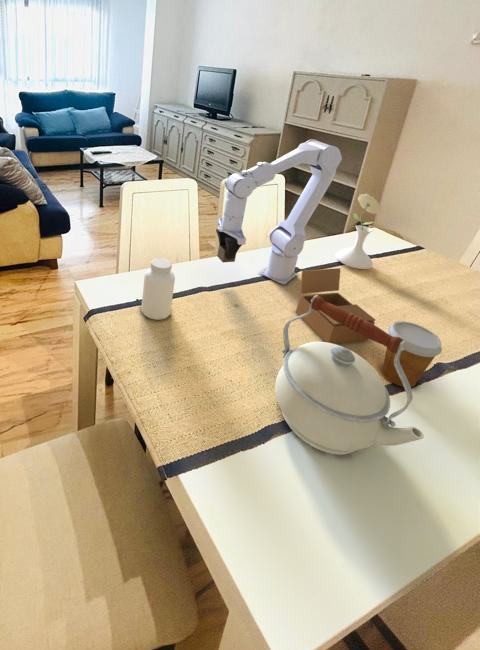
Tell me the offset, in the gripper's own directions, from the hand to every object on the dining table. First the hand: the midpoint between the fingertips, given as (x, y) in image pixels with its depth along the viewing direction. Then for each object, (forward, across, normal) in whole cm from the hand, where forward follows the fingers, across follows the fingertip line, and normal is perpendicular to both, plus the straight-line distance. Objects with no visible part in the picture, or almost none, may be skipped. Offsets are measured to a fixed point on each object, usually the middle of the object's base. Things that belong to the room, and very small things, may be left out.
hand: (226, 254), depth 118 cm
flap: (-1, +18, +19) cm, 26 cm away
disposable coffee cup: (+9, +43, +22) cm, 49 cm away
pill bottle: (+9, +13, -26) cm, 30 cm away
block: (+1, 0, 0) cm, 1 cm away
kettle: (+9, +52, -3) cm, 53 cm away
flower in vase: (+9, -4, +52) cm, 52 cm away
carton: (+9, +25, +19) cm, 33 cm away
